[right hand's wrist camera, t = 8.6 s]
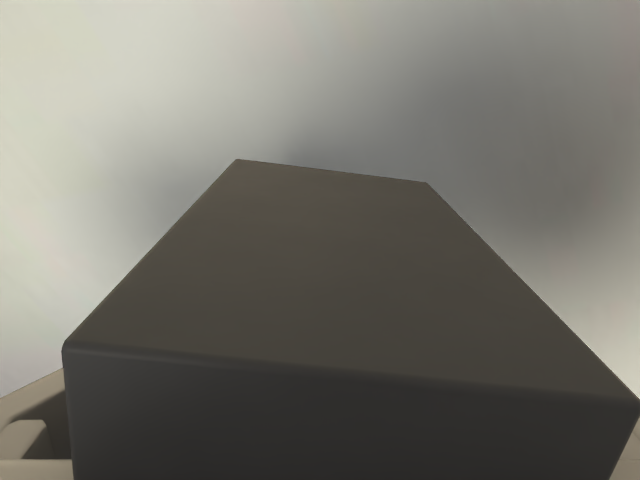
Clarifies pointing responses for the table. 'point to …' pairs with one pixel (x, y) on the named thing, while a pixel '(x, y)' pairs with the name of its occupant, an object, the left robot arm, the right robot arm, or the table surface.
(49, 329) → the table surface
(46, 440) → the right robot arm
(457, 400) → the block
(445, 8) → the table surface
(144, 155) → the table surface
